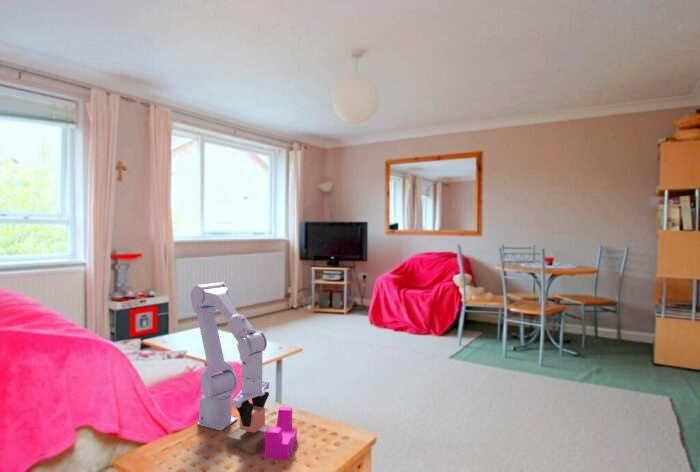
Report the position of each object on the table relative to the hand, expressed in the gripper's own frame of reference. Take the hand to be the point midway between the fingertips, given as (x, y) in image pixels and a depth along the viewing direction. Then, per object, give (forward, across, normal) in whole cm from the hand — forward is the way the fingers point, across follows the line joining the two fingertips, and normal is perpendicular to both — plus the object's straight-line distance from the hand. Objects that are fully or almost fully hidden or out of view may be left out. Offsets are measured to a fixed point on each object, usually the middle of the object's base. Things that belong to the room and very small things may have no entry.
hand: (252, 421), depth 120 cm
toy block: (+6, +3, -9) cm, 11 cm away
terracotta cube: (+2, 0, 0) cm, 2 cm away
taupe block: (+6, 0, 0) cm, 6 cm away
